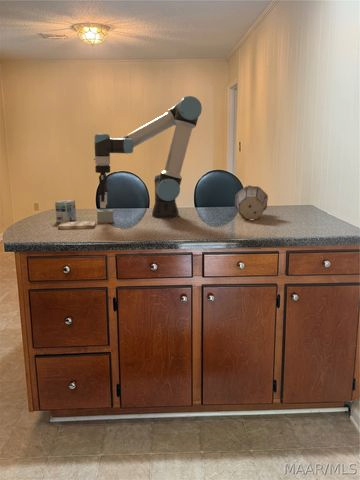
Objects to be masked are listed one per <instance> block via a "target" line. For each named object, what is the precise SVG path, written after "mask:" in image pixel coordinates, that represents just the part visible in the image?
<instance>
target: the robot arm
mask: <svg viewBox="0 0 360 480" xmlns="http://www.w3.org/2000/svg"><path fill="white" fill-rule="evenodd" d="M202 107H203V106H202V103H201V102H200V100H199V99H198V98H197V97H196V96H191V95H188V96H183V97H182V98H181V99H180V100H179V101H178V102H177V103H176V104H174V106H172V107H170V108H168V110H167V112H165V113H163V115H160V116H158V117H156V118H155V119H153V120H151V121H150V122H148V123H146V124H144V125H142V126H140V127H139V128H137V129H135V130H132V132H130V133H128V134H126V135H124V136H123V137H121V138H119V137H118V138H116V137H114V138H112V137H111V136H110V134H108V133H96V134H94V158H93V160H94V163H95V165H94V166H95V167H94V169H95V173H97V174H100V175H99V176H98V181H99V193H98V196H99V207H100V209H106V208H107V206H106V205H108V192H109V190H108V187H107V183H108V176H107V174H109V173H111V166H110V165H111V155H110V154H126V155H127V154H133V153H134V148H135V147H138V146H139V145H141V144H142V143H144V142H146V141H148V140H149V139H152V138H154V137H155V136H157V135H159V134H161V133H162V132H164V131H166V130H168V129H170V128H172V127H174V126H175V127H174V132H173V134H172V139H171V143H170V146H169V151H168V154H167V159H166V163H165V167H164V170H162V171H160V174H157V175H155V176H154V206H153V208H152V211H151V214H152V217H153V218H160V219H161V218H166V219H167V218H168V219H169V218H175V217H176V216H177V217H179V215H180V213H179V212H180V211H179V209H178V205H177V201H176V199H177V198H178V197H179V195H180V193H181V184H182V180H183V178H182V176H181V171H182V168H183V165H184V160H185V157H186V153H187V150H188V146H189V143H190V138H191V134H192V131H193V129H194V128H197V124H198V121H199V120H198V119H199V117H200V116H201V114H202V111H203V109H202Z"/></svg>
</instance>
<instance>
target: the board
mask: <svg viewBox="0 0 360 480" xmlns="http://www.w3.org/2000/svg"><path fill="white" fill-rule="evenodd" d="M96 225H97V221H96V220H95V221H94V220H93V221H92V220H91V221H71V222H60V224H58V225H57V229H58V230H78V229H79V230H80V229H82V230H84V229H85V228H86V229H95V227H96Z"/></svg>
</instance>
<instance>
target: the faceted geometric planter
mask: <svg viewBox="0 0 360 480" xmlns="http://www.w3.org/2000/svg"><path fill="white" fill-rule="evenodd" d="M268 199H269V195H268V194H267V192H266V191H264V190H263V189H262V188H261V187H260V186H258V185H257V186H255V185H247V186H244V187H243V188H242V189H240V190H239V191H238V192H237V193H236V194H235V196H234V208H235V209H236V210H237V211H238V214H239V216H240V217H241V218H242V219H244V220H246V219H256V220H257V219H258V218H260V217H261V216H262V215H263V214H264V212H265V211H266V210H267V208H268Z"/></svg>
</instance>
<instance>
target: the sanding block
mask: <svg viewBox="0 0 360 480" xmlns="http://www.w3.org/2000/svg"><path fill="white" fill-rule="evenodd" d="M96 218H97V221H96V224H97V223H98V224H100V223H101V224H102V223H103V224H105V223H109V224H110V223H114V209H97V210H96Z"/></svg>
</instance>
